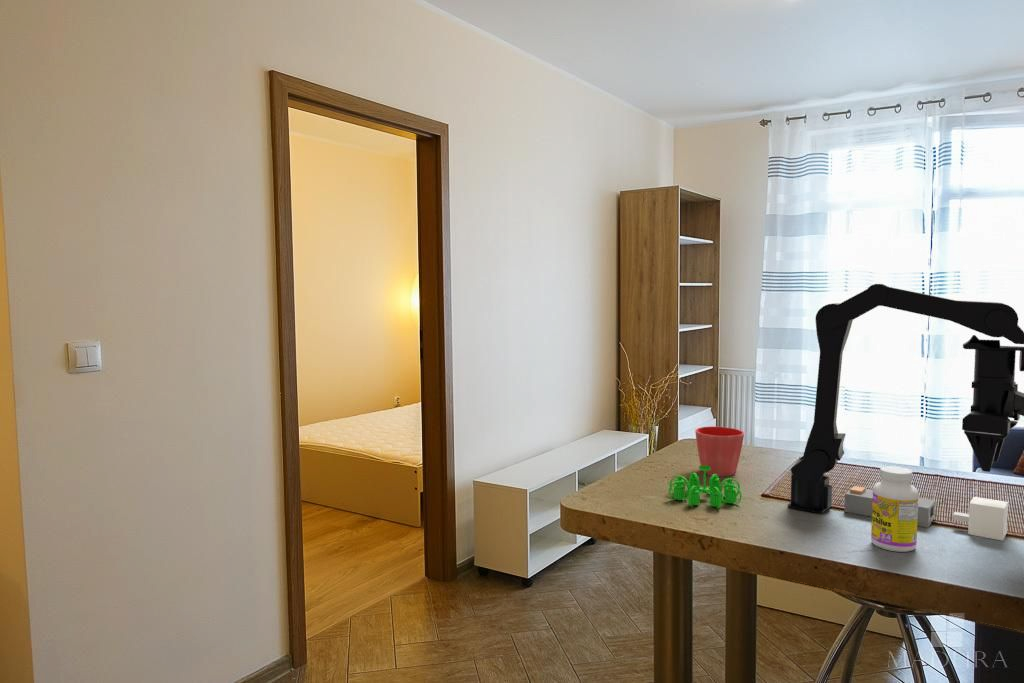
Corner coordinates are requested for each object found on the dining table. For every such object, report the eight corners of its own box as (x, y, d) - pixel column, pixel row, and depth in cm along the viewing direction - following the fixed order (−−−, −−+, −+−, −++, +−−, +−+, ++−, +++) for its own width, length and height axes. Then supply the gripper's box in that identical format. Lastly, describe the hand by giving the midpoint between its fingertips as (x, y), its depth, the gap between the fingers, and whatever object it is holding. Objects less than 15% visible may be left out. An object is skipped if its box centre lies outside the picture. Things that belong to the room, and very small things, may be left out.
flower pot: (749, 478, 159) (750, 435, 158) (701, 478, 159) (701, 435, 158) (735, 466, 170) (736, 426, 169) (689, 466, 170) (690, 426, 169)
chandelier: (753, 497, 145) (754, 464, 144) (727, 517, 133) (727, 480, 133) (684, 485, 154) (684, 454, 153) (654, 503, 142) (654, 469, 142)
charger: (950, 530, 124) (952, 500, 124) (955, 523, 128) (956, 493, 127) (1003, 540, 119) (1004, 508, 119) (1006, 533, 123) (1008, 502, 122)
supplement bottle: (862, 539, 120) (865, 465, 119) (899, 538, 121) (902, 464, 120) (886, 554, 113) (889, 475, 112) (925, 552, 114) (928, 474, 113)
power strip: (844, 511, 135) (845, 490, 134) (853, 504, 139) (854, 483, 139) (928, 527, 126) (928, 505, 125) (934, 519, 130) (935, 497, 130)
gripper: (1048, 386, 108) (1043, 486, 109) (1057, 374, 122) (1052, 462, 123) (963, 380, 115) (959, 474, 117) (980, 369, 130) (977, 453, 131)
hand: (990, 466), depth 122 cm, fingers open, 9 cm apart
